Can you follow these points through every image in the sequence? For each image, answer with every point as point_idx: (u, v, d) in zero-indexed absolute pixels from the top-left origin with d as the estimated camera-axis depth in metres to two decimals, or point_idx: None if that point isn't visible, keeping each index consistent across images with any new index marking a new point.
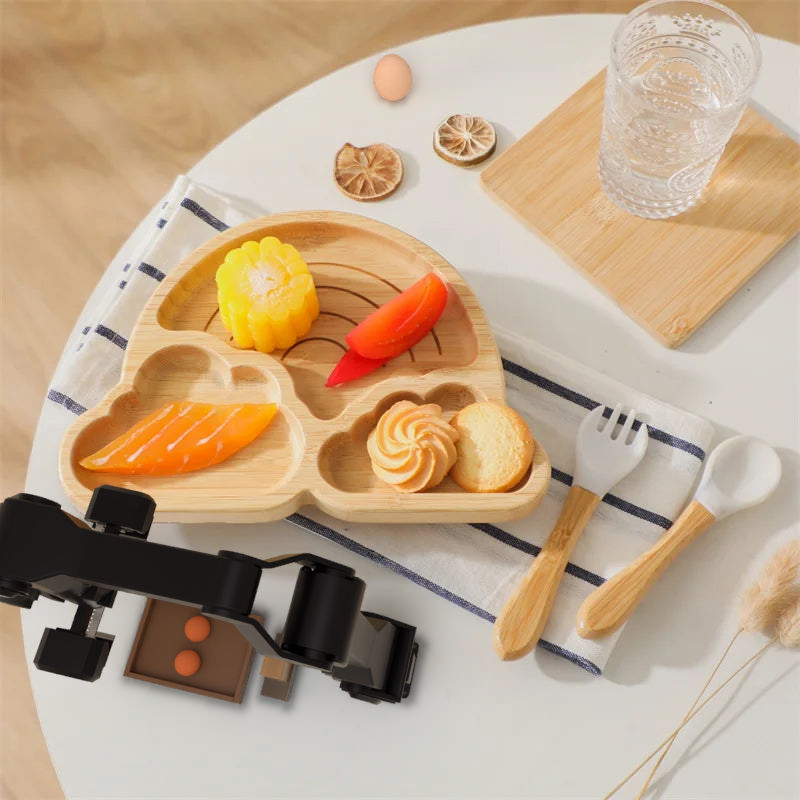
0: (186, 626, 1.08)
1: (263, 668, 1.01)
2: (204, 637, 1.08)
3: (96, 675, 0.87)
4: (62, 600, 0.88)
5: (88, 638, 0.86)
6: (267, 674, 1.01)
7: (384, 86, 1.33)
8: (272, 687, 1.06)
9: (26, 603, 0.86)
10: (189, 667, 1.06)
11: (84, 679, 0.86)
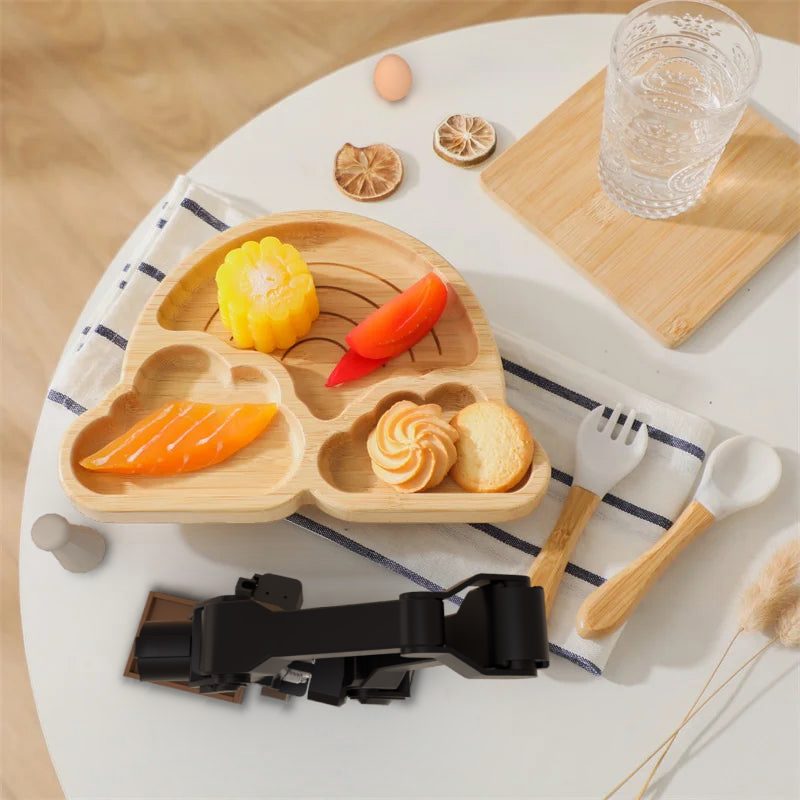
0: None
1: None
2: None
3: None
4: None
5: None
6: None
7: (384, 86, 1.33)
8: None
9: None
10: None
11: None
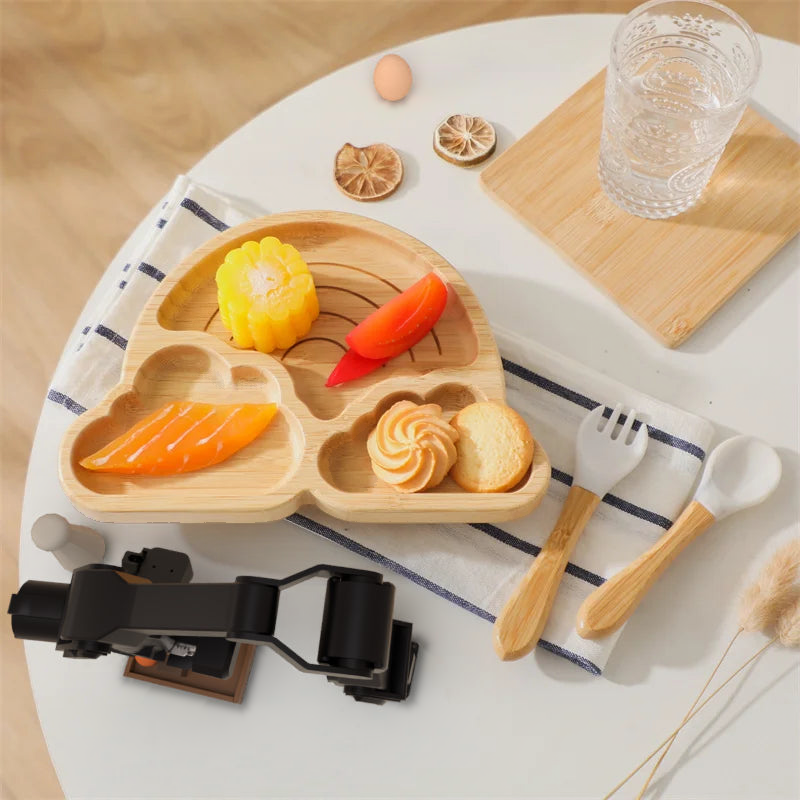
0: None
1: None
2: None
3: None
4: None
5: None
6: None
7: (384, 86, 1.33)
8: None
9: None
10: None
11: None
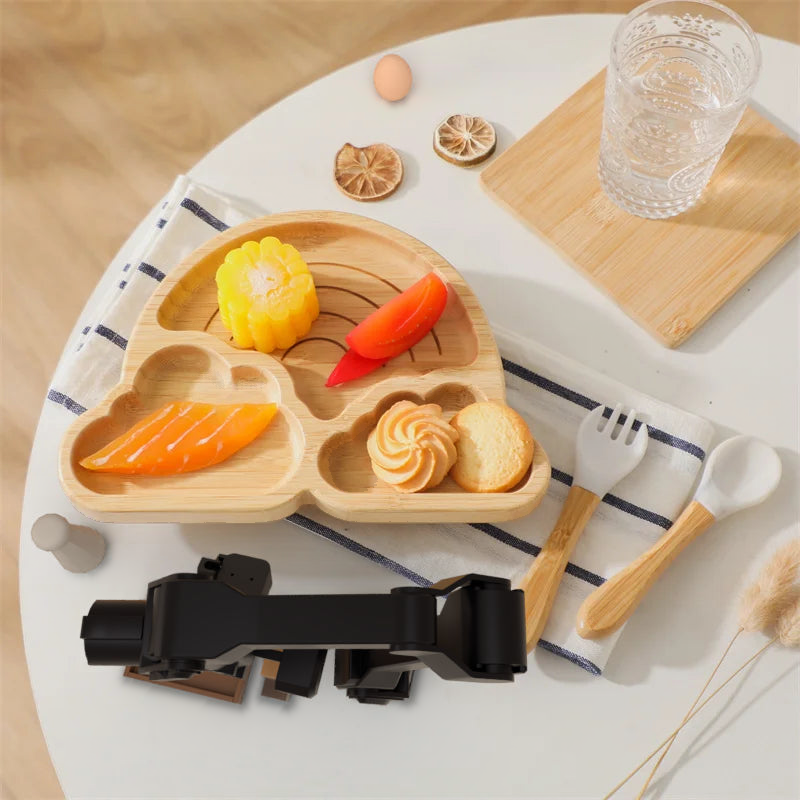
0: None
1: (264, 668, 1.02)
2: None
3: None
4: None
5: None
6: (268, 674, 1.01)
7: (384, 86, 1.33)
8: (273, 687, 1.06)
9: None
10: None
11: None
